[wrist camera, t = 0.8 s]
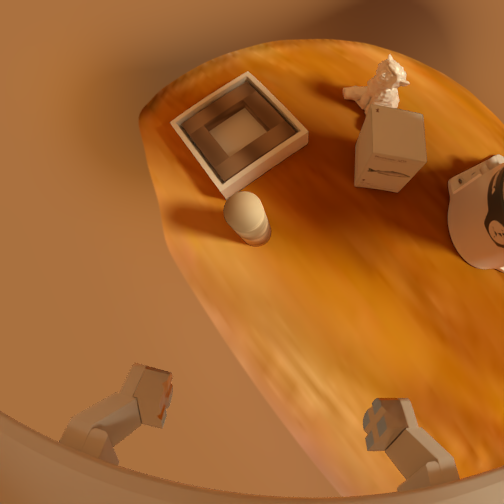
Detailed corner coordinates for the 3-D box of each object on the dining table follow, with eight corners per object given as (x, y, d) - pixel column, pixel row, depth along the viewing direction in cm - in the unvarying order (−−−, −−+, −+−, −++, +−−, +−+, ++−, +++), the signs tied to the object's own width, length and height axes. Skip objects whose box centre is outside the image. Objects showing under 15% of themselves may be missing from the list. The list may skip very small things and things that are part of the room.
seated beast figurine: (338, 93, 48) (346, 48, 36) (377, 80, 47) (391, 37, 36) (368, 136, 46) (384, 95, 34) (407, 120, 46) (430, 80, 34)
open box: (251, 84, 50) (248, 71, 46) (307, 143, 47) (308, 131, 43) (177, 133, 51) (169, 122, 47) (226, 200, 48) (220, 192, 44)
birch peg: (259, 211, 47) (247, 184, 35) (277, 234, 46) (270, 214, 34) (235, 228, 47) (215, 206, 35) (252, 252, 46) (238, 237, 34)
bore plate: (248, 89, 49) (246, 81, 47) (296, 140, 47) (296, 132, 44) (185, 131, 50) (181, 124, 47) (227, 187, 47) (224, 181, 45)
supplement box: (353, 187, 45) (370, 152, 33) (354, 144, 46) (369, 101, 34) (398, 194, 44) (428, 163, 32) (398, 152, 45) (423, 112, 33)
